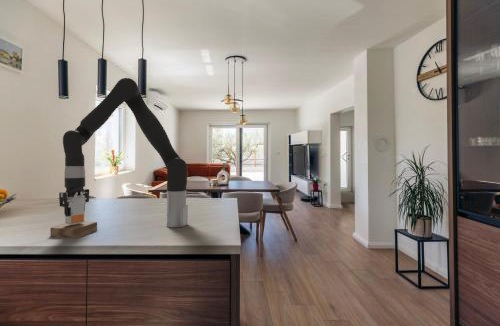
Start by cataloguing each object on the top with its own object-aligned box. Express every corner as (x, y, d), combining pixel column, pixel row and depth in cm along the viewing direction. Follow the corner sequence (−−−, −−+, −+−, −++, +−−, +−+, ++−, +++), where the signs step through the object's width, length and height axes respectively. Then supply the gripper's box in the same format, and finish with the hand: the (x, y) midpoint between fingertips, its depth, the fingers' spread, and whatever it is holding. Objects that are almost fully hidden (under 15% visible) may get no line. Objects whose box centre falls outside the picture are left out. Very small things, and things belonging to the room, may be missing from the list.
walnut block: (97, 230, 120) (97, 222, 120) (76, 238, 108) (76, 229, 108) (73, 229, 121) (73, 221, 121) (50, 237, 109) (50, 227, 109)
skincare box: (69, 225, 111) (69, 197, 110) (65, 223, 113) (64, 196, 113) (85, 222, 116) (84, 195, 116) (80, 221, 118) (80, 194, 118)
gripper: (69, 177, 106) (69, 218, 107) (94, 175, 121) (94, 211, 121) (52, 177, 107) (53, 217, 108) (80, 175, 122) (80, 210, 122)
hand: (75, 214), depth 114 cm, fingers closed on skincare box, 7 cm apart
